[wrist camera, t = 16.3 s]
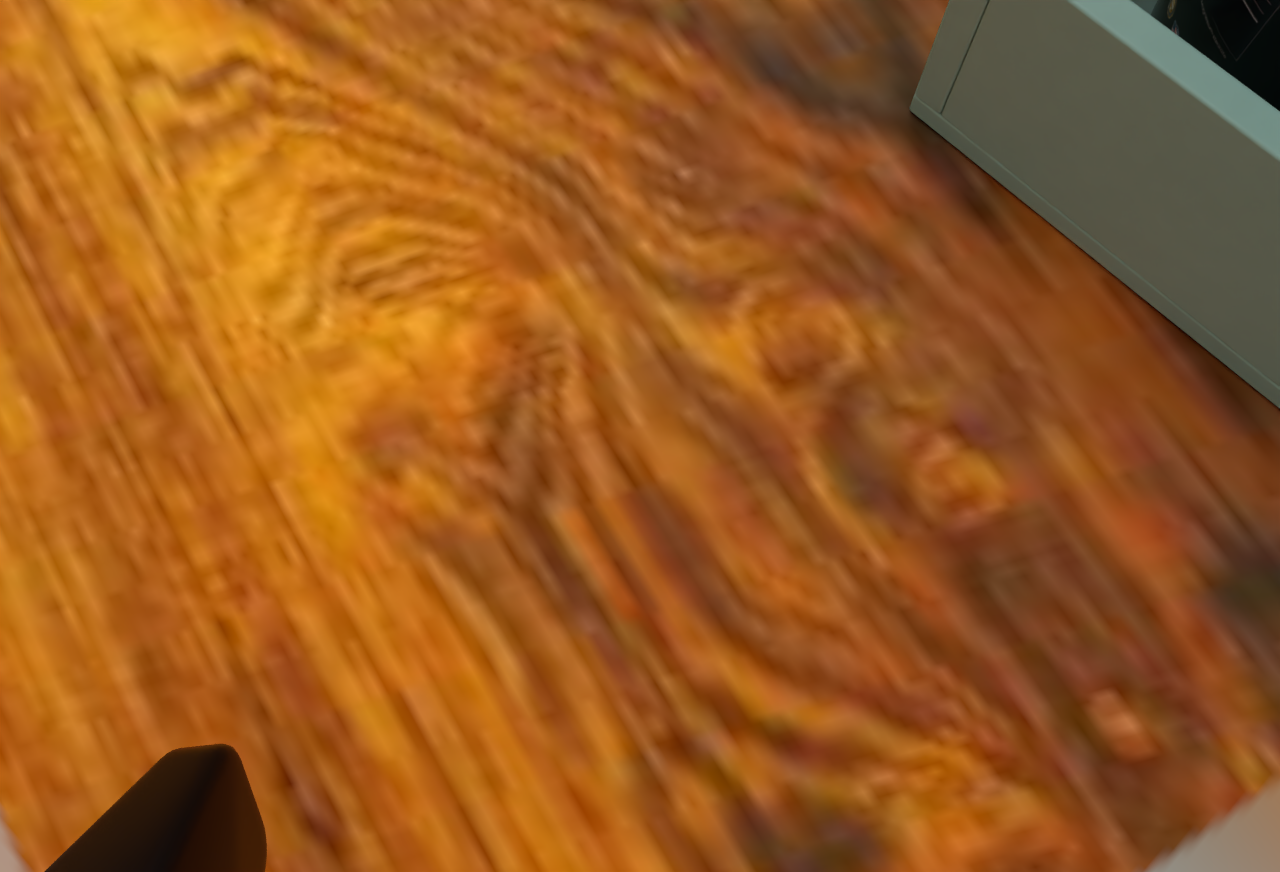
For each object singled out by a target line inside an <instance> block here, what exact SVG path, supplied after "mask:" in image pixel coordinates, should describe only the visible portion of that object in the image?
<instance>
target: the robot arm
mask: <svg viewBox="0 0 1280 872" xmlns="http://www.w3.org/2000/svg"><path fill="white" fill-rule="evenodd" d="M266 857H267V843H266V834H265V828H264V824H263V821H262V818H261V815H260V812H259V810H258V807H257V804H256V801H255V798H254V795H253V793H252V790H251V787H250V784H249V781H248V778H247V775H246V773H245V770H244V767H243V764H242V761H241V759H240V757H239V755H238V753H237V752H236V751H235V749H234V748H233V747H231V746H229V745H226V744H214V745H205V746H195V747H186V748H179V749H176V750H172V751H171V752H169V753H167V754H166V755H165V756H163V757H162V758H161V759H160V760H159V761H158V762H157V763H156V764H155V765H154V766H153V767H152V768H151V769H150V770H149V771H148V772H147V773H146V774H145V775H144V776H142V777H141V778H140V779H139V780H138V781H137V782H136V783H135V784H134V785H133V786H132V787H131V788H130V789H129V790H128V791H127V792H126V793H125V794H124V795H123V796H122V797H121V798H120V799H119V800H118V801H117V802H116V803H115V804H114V805H113V806H112V807H111V808H110V809H109V810H107V811H106V812H105V813H104V814H103V815H102V816H101V817H100V818H99V819H98V820H97V821H96V822H95V823H94V824H93V825H92V826H91V827H90V828H89V829H88V830H87V831H86V832H85V833H84V834H83V835H82V836H81V837H80V838H79V839H78V840H77V841H76V842H75V843H73V844H72V845H71V846H70V847H69V848H68V849H67V850H66V851H65V852H64V853H63V854H62V855H61V856H60V857H59V858H58V859H57V860H56V861H55V862H54V863H53V864H52V865H51V866H50V867H49V868H48V869H47V870H46V871H45V872H265V867H266Z"/></svg>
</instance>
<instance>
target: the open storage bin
mask: <svg viewBox="0 0 1280 872" xmlns="http://www.w3.org/2000/svg"><path fill="white" fill-rule="evenodd" d="M1157 1H1158V0H949V3H948V6H947V8H946V11H945V14H944V16H943V19H942V22H941V24H940V27H939V30H938V32H937V35H936V38H935V41H934V43H933V46H932V49H931V51H930V54H929V57H928V59H927V62H926V65H925V67H924V70H923V73H922V76H921V78H920V81H919V84H918V86H917V89H916V92H915V95H914V97H913V100H912V103H911V105H910V108H909V109H910V111H911V112H912V113H914V114H915V115H916V116H917V117H919V118H920V119H921V120H922V121H924V122H925V123H926V124H927V125H929V126H930V127H931V128H932V129H934V130H935V131H936V132H937V133H938V134H940V135H941V136H942V137H943V138H945V139H946V140H947V141H948V142H950V143H951V144H952V145H953V146H955V147H956V148H957V149H958V150H960V151H961V152H962V153H963V154H965V155H966V156H967V157H968V158H969V159H971V160H972V161H973V162H974V163H976V164H977V165H978V166H979V167H981V168H982V169H983V170H984V171H986V172H987V173H988V174H989V175H991V176H992V177H993V178H994V179H996V180H997V181H998V182H999V183H1000V184H1002V185H1003V186H1004V187H1005V188H1007V189H1008V190H1009V191H1010V192H1012V193H1013V194H1014V195H1015V196H1017V197H1018V198H1019V199H1020V200H1022V201H1023V202H1024V203H1025V204H1027V205H1028V206H1029V207H1030V208H1031V209H1033V210H1034V211H1035V212H1036V213H1038V214H1039V215H1040V216H1041V217H1043V218H1044V219H1045V220H1046V221H1048V222H1049V223H1050V224H1051V225H1053V226H1054V227H1055V228H1056V229H1058V230H1059V231H1060V232H1061V233H1062V234H1064V235H1065V236H1066V237H1067V238H1069V239H1070V240H1071V241H1072V242H1074V243H1075V244H1076V245H1077V246H1079V247H1080V248H1081V249H1082V250H1084V251H1085V252H1086V253H1087V254H1089V255H1090V256H1091V257H1092V258H1094V259H1095V260H1096V261H1097V262H1098V263H1100V264H1101V265H1102V266H1103V267H1105V268H1106V269H1107V270H1108V271H1110V272H1111V273H1112V274H1113V275H1115V276H1116V277H1117V278H1118V279H1120V280H1121V281H1122V282H1123V283H1125V284H1126V285H1127V286H1128V287H1129V288H1131V289H1132V290H1133V291H1134V292H1136V293H1137V294H1138V295H1139V296H1141V297H1142V298H1143V299H1144V300H1146V301H1147V302H1148V303H1149V304H1151V305H1152V306H1153V307H1154V308H1156V309H1157V310H1158V311H1159V312H1160V313H1162V314H1163V315H1164V316H1165V317H1167V318H1168V319H1169V320H1170V321H1172V322H1173V323H1174V324H1175V325H1177V326H1178V327H1179V328H1180V329H1182V330H1183V331H1184V332H1185V333H1187V334H1188V335H1189V336H1190V337H1191V338H1193V339H1194V340H1195V341H1196V342H1198V343H1199V344H1200V345H1201V346H1203V347H1204V348H1205V349H1206V350H1208V351H1209V352H1210V353H1211V354H1213V355H1214V356H1215V357H1216V358H1218V359H1219V360H1220V361H1221V362H1222V363H1224V364H1225V365H1226V366H1227V367H1229V368H1230V369H1231V370H1232V371H1234V372H1235V373H1236V374H1237V375H1239V376H1240V377H1241V378H1242V379H1244V380H1245V381H1246V382H1247V383H1249V384H1250V385H1251V386H1252V387H1253V388H1255V389H1256V390H1257V391H1258V392H1260V393H1261V394H1262V395H1263V396H1265V397H1266V398H1267V399H1268V400H1270V401H1271V402H1272V403H1273V404H1275V405H1276V406H1277V407H1278V408H1280V111H1278V110H1277V109H1276V108H1274V107H1273V106H1272V105H1270V104H1269V103H1268V102H1266V101H1265V100H1264V99H1262V98H1261V97H1260V96H1258V95H1257V94H1256V93H1254V92H1253V91H1252V90H1250V89H1249V88H1248V87H1246V86H1245V85H1244V84H1242V83H1241V82H1240V81H1238V80H1237V79H1236V78H1234V77H1233V76H1232V75H1230V74H1229V73H1227V72H1226V71H1225V70H1223V69H1222V68H1221V67H1219V66H1218V65H1217V64H1215V63H1214V62H1213V61H1211V60H1210V59H1209V58H1207V57H1206V56H1205V55H1203V54H1202V53H1201V52H1199V51H1198V50H1197V49H1195V48H1194V47H1193V46H1191V45H1190V44H1189V43H1187V42H1186V41H1185V40H1183V39H1182V38H1181V37H1179V36H1178V35H1177V34H1175V33H1174V32H1173V31H1171V30H1170V29H1168V28H1167V27H1166V26H1164V25H1163V24H1162V23H1160V22H1159V21H1158V20H1156V19H1155V18H1154V17H1152V16H1151V13H1152V10H1153V8H1154V6H1155V4H1156V3H1157Z"/></svg>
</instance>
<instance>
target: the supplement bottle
mask: <svg viewBox="0 0 1280 872" xmlns="http://www.w3.org/2000/svg"><path fill="white" fill-rule="evenodd" d="M1151 16H1152V17H1154V18H1155V19H1156V20H1158V21H1159V22H1160V23H1162V24H1163V25H1164V26H1166V27H1167V28H1168V29H1170V30H1171V31H1173V32H1174V33H1175V34H1177V35H1178V36H1179V37H1181V38H1182V39H1183V40H1185V41H1186V42H1187V43H1189V44H1190V45H1191V46H1193V47H1194V48H1195V49H1197V50H1198V51H1199V52H1201V53H1202V54H1203V55H1205V56H1206V57H1207V58H1209V59H1210V60H1211V61H1213V62H1214V63H1215V64H1217V65H1218V66H1219V67H1221V68H1222V69H1223V70H1225V71H1226V72H1227V73H1229V74H1230V75H1232V76H1233V77H1234V78H1236V79H1237V80H1238V81H1240V82H1241V83H1242V84H1244V85H1245V86H1246V87H1248V88H1249V89H1250V90H1252V91H1253V92H1254V93H1256V94H1257V95H1258V96H1260V97H1261V98H1262V99H1264V100H1265V101H1266V102H1268V103H1269V104H1270V105H1272V106H1273V107H1274V108H1276V109H1277V110H1278V111H1280V0H1158V1H1157V3H1156V4H1155V6H1154V8H1153V10H1152V13H1151Z"/></svg>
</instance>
